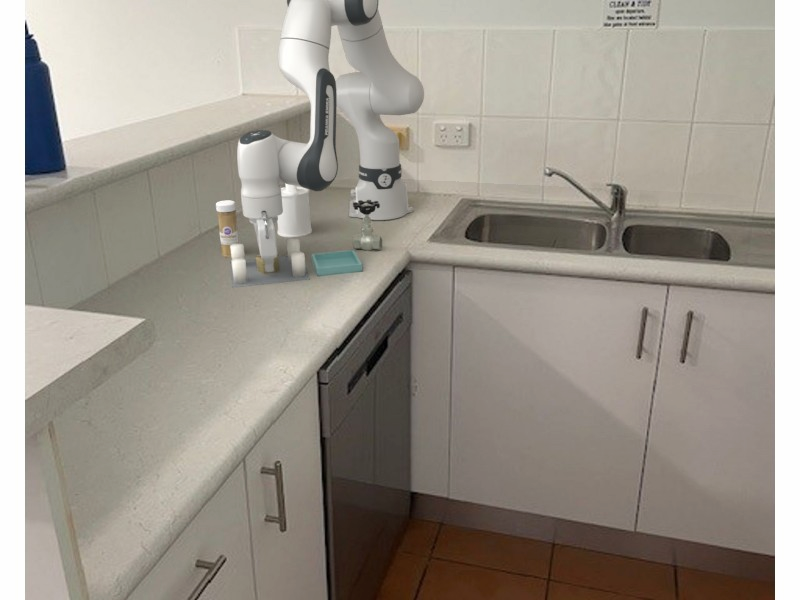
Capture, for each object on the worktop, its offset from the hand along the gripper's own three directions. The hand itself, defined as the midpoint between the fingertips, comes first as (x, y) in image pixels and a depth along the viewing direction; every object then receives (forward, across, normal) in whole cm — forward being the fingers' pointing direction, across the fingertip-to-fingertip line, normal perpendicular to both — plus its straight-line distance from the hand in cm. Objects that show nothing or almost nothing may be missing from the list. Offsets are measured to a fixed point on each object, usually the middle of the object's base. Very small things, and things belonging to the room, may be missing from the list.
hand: (268, 264), depth 166 cm
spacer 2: (+1, -6, +6) cm, 9 cm away
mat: (+2, 0, 0) cm, 2 cm away
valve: (+2, +8, -25) cm, 26 cm away
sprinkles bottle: (+2, +14, +8) cm, 16 cm away
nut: (+1, 0, 0) cm, 1 cm away
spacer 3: (+1, +5, -6) cm, 8 cm away
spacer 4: (+1, -5, -6) cm, 8 cm away
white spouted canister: (+2, +27, -9) cm, 29 cm away
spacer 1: (+1, +5, +6) cm, 8 cm away
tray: (+2, -2, -16) cm, 16 cm away
